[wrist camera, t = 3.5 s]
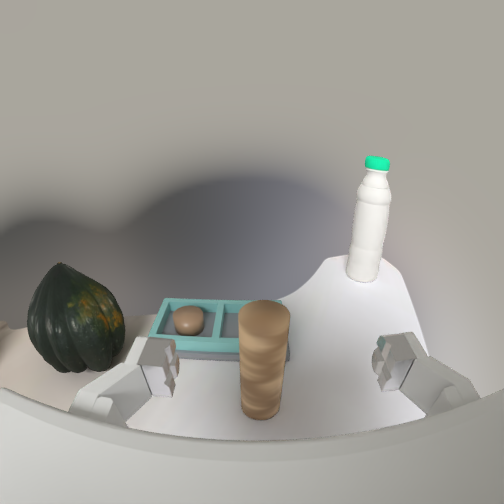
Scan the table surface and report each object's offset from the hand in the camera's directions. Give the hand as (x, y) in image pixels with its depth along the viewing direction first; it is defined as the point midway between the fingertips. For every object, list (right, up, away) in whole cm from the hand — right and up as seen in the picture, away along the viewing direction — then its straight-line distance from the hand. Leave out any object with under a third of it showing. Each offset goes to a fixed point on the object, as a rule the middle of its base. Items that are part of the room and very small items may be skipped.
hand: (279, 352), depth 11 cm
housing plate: (-6, -9, +32) cm, 34 cm away
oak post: (0, -14, +20) cm, 25 cm away
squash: (-26, -12, +26) cm, 38 cm away
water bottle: (+22, -1, +48) cm, 53 cm away
